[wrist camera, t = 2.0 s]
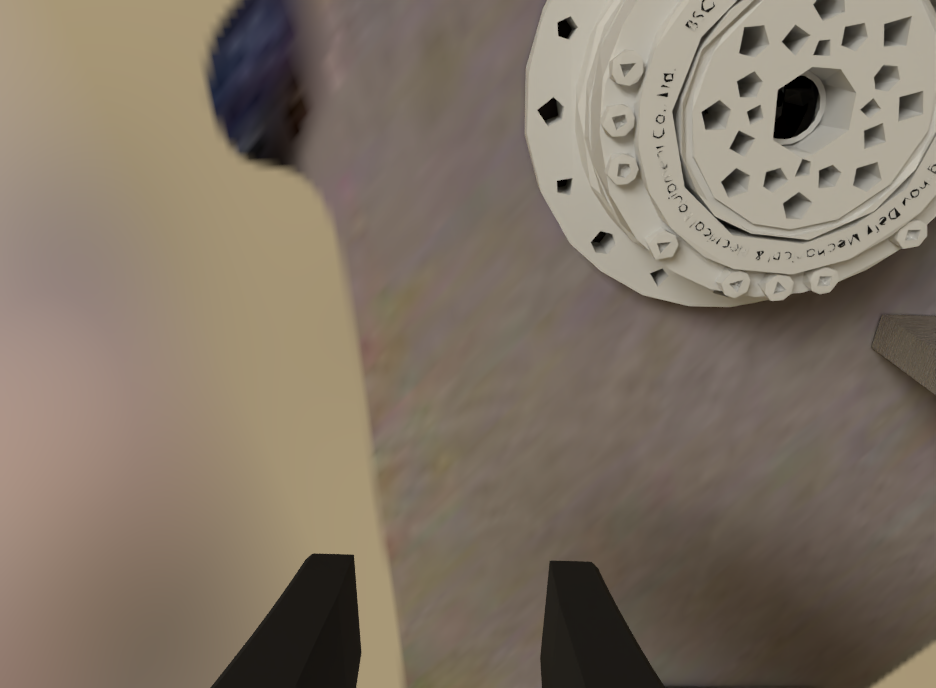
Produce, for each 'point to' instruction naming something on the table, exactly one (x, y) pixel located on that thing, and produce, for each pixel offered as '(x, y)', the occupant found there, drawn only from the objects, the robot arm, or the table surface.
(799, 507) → the table surface
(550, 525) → the table surface
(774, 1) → the mechanical component
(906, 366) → the bracket
